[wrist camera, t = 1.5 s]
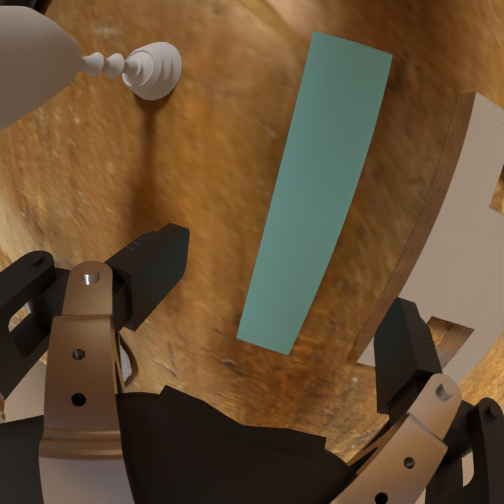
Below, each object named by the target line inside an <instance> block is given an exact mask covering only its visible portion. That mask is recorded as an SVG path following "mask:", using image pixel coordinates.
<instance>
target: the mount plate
mask: <svg viewBox="0 0 504 504" xmlns="http://www.w3.org/2000/svg"><path fill="white" fill-rule="evenodd" d="M503 164H504V110H503V109H502V108H500V107H499V106H497V105H496V104H494V103H493V102H491V101H490V100H488V99H487V98H485V97H484V96H482V95H481V94H479V93H478V92H469V93H460V94H458V95H457V99H456V103H455V108H454V112H453V116H452V120H451V124H450V127H449V131H448V134H447V138H446V141H445V145H444V148H443V151H442V154H441V158H440V161H439V164H438V167H437V170H436V173H435V175H434V178H433V181H432V184H431V187H430V189H429V192H428V195H427V197H426V200H425V202H424V205H423V207H422V210H421V212H420V215H419V217H418V220H417V222H416V224H415V227H414V229H413V231H412V234H411V236H410V238H409V240H408V243H407V245H406V247H405V249H404V251H403V253H402V255H401V258H400V260H399V262H398V264H397V266H396V268H395V270H394V272H393V274H392V276H391V278H390V280H389V282H388V284H387V285H386V287H385V289H384V291H383V293H382V295H381V297H380V298H379V300H378V302H377V304H376V306H375V307H374V309H373V311H372V313H371V315H370V316H369V318H368V320H367V321H366V323H365V325H364V326H363V328H362V330H361V331H360V333H359V335H358V336H357V338H356V362H357V363H361V364H365V365H369V366H373V367H375V357H374V345H373V341H374V336H375V332H376V330H377V328H378V326H379V325H380V323H381V321H382V320H383V318H384V316H385V315H386V313H387V311H388V309H389V308H390V306H391V304H392V302H393V301H394V300H395V299H396V298H397V297H400V298H403V299H406V300H409V301H412V302H415V303H416V305H417V308H418V311H419V314H420V317H421V318H422V319H423V320H424V321H425V323H427V322H428V320H429V319H430V317H431V316H434V317H437V318H440V319H443V320H446V321H450V322H453V323H454V324H453V326H452V327H451V328H450V330H449V331H448V333H447V334H446V335H445V337H444V338H443V339H442V341H441V342H440V343H439V345H438V346H437V347H435V349H436V351H437V354H438V358H439V361H440V365H441V369H442V372H443V374H445V375H447V376H449V377H450V378H452V379H453V380H454V381H455V382H456V384H459V383H460V382H461V381H462V380H463V379H464V378H465V376H466V375H467V374H468V373H469V372H470V371H471V370H472V369H473V368H474V366H475V365H476V364H477V363H478V362H479V361H480V359H481V358H482V357H483V356H484V355H485V353H486V352H487V351H488V350H489V348H490V347H491V346H492V345H493V343H494V342H495V341H496V339H497V338H498V337H499V335H500V334H501V333H502V331H503V330H504V213H502V212H500V211H499V210H497V209H495V208H494V207H492V206H490V202H491V199H492V197H493V194H494V191H495V189H496V186H497V183H498V180H499V177H500V174H501V171H502V168H503Z"/></svg>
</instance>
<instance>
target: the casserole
mask: <svg viewBox="0 0 504 504" xmlns="http://www.w3.org/2000/svg"><path fill="white" fill-rule="evenodd" d="M37 1H38V0H0V6H24V7H28V8H31V9H34V7H35V5H36V3H37Z"/></svg>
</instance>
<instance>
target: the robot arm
mask: <svg viewBox="0 0 504 504" xmlns="http://www.w3.org/2000/svg"><path fill="white" fill-rule="evenodd" d="M189 236H190V232H189V229H188V228H185V227H182V226H179V225H176V224H172V223H169V224H167V225H166V226H164V227H163V228H162V229H160V230H159V231H157V232H156V231H153V232H149V233H146V234H143V235H141V236H140V237H138V238H137V239H136V240H134V242H131V243H130V244H129V245H127V247H124V248H123V249H122V250H120V251H119V252H117V253H116V254H115V255H113V256H112V257H111V258H109V259H108V260H107V261H105V262H104V263H102V262H98V261H87V262H83V263H80V264H78V265H76V266H75V267H74V268H73V269H72V270H66V269H61V268H56V267H55V265H54V259H53V256H52V255H51V254H50V253H49V252H46V251H33V252H30V253H27V254H25V255H24V256H22V257H21V258H19V259H18V260H17V261H15V262H14V263H13V264H11V265H10V266H8V267H7V268H6V269H4V270H3V271H2V272H0V504H415V502H416V501H417V500H418V498H419V497H420V495H421V494H422V492H423V491H424V489H425V488H426V495H425V504H504V415H503V412H502V410H501V408H500V406H499V405H498V404H497V402H495V401H494V400H493V399H491V398H488V397H485V398H483V399H481V400H480V401H479V402H478V403H477V404H476V405H475V406H473V405H471V404H469V403H467V402H465V401H463V400H462V395H461V391H460V389H459V387H458V385H457V384H456V382H455V381H454V380H453V379H452V378H450V377H449V376H447V375H445V374H443V372H442V369H441V365H440V361H439V358H438V354H437V351H436V349H435V344H434V341H433V340H432V339H433V338H432V335H431V332H430V329H429V327H428V326H427V324H426V323H425V321H424V320H423V319H422V318H421V317H420V314H419V311H418V308H417V305H416V303H415V302H412V301H409V300H406V299H403V298H400V297H397V298H396V299H395V300H394V301H393V302H392V304H391V306H390V308H389V309H388V311H387V313H386V315H385V316H384V318H383V320H382V321H381V323H380V325H379V326H378V328H377V330H376V332H375V336H374V341H373V345H374V357H375V371H376V391H377V413H381V414H387V415H389V420H388V421H387V422H386V423H385V424H384V425H383V426H382V427H381V428H380V429H379V430H378V432H377V433H376V434H375V435H374V436H373V437H372V438H371V439H370V440H369V441H368V443H367V444H366V445H365V446H364V447H363V448H362V449H361V450H360V451H359V452H358V453H357V454H356V455H355V456H354V457H353V458H352V459H351V460H349V461H348V462H347V463H345V462H344V461H343V460H342V459H340V458H339V457H338V456H336V455H335V454H333V453H331V452H330V451H328V450H326V449H325V443H326V437H322V436H317V435H312V434H308V433H304V432H300V431H296V430H292V429H288V428H268V427H255V426H245V425H242V424H239V423H237V422H236V421H234V420H233V419H231V418H229V417H228V416H226V415H224V414H223V413H221V412H220V411H218V410H217V409H215V408H214V407H212V406H211V405H209V404H208V403H206V402H205V401H202V400H200V399H197V398H195V397H193V396H190V395H188V394H185V393H183V392H181V391H178V390H176V389H174V388H172V387H169V386H167V385H165V387H164V388H163V390H162V392H161V393H160V394H155V393H147V392H130V393H126V391H125V385H124V379H123V371H122V361H121V350H120V337H119V331H120V330H121V329H122V328H123V327H126V328H128V329H130V330H132V331H134V332H135V331H136V330H137V328H138V327H139V326H140V325H141V324H142V323H143V321H144V320H145V319H146V318H147V317H148V316H149V314H150V313H151V312H152V311H153V310H154V309H155V308H156V306H157V305H158V304H159V303H160V302H161V301H162V300H163V298H164V297H165V296H166V295H167V294H168V293H169V292H170V290H171V289H172V288H173V287H174V286H175V285H176V284H177V283H178V281H179V280H180V279H181V278H182V276H183V274H184V271H185V268H186V262H187V253H188V244H189ZM26 303H28V306H29V309H30V312H31V313H30V314H29V315H27V316H26V317H25V318H24V319H23V320H22V321H21V322H20V323H19V324H18V325H17V326H16V327H15V328H14V329H13V330H12V331H11V332H9V328H8V325H9V321H10V319H11V317H12V316H13V315H14V314H15V313H16V312H17V311H18V310H19V309H21V308H22V307H23V306H24V305H25V304H26ZM47 349H48V356H47V366H46V378H45V393H44V415H40V416H36V417H31V418H26V419H21V420H16V421H11V422H6V423H4V422H5V414H4V412H3V411H4V401H5V400H6V399H7V397H8V396H9V395H10V393H11V392H12V391H13V390H14V388H15V387H16V386H17V385H18V383H19V382H20V381H21V380H22V378H23V377H24V376H25V375H26V374H27V373H28V371H29V370H30V369H31V368H32V367H33V366H34V364H35V363H36V362H37V361H38V360H39V359H40V357H41V356H42V355H43V354H44V353H45V352H46V351H47ZM472 451H473V462H474V475H473V478H472V480H471V481H470V482H469V484H467V485H466V486H464V487H463V471H462V458H463V457H465V456H466V455H467V454H469V453H470V452H472Z"/></svg>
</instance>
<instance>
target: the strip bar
mask: <svg viewBox="0 0 504 504" xmlns="http://www.w3.org/2000/svg"><path fill="white" fill-rule="evenodd" d="M392 57H393V55H391V54H389V53H386V52H383V51H381V50H378V49H375V48H372V47H369V46H366V45H363V44H360V43H357V42H353V41H350V40H347V39H343V38H339V37H336V36H332V35H328V34H324V33H319V32H315V31H313V36H312V40H311V44H310V48H309V52H308V56H307V60H306V64H305V69H304V73H303V77H302V81H301V85H300V89H299V93H298V97H297V101H296V105H295V109H294V113H293V117H292V121H291V125H290V129H289V133H288V137H287V141H286V145H285V149H284V153H283V157H282V161H281V165H280V169H279V173H278V177H277V181H276V185H275V189H274V193H273V197H272V201H271V205H270V209H269V213H268V217H267V221H266V224H265V228H264V232H263V236H262V240H261V244H260V248H259V252H258V256H257V260H256V263H255V267H254V271H253V275H252V279H251V283H250V287H249V291H248V294H247V298H246V302H245V306H244V310H243V314H242V317H241V321H240V325H239V329H238V333H237V337H236V338H237V339H240V340H243V341H246V342H249V343H252V344H254V345H257V346H260V347H263V348H266V349H270V350H273V351H276V352H279V353H282V354H285V355H289V353H290V351H291V349H292V346H293V344H294V342H295V340H296V338H297V336H298V334H299V331H300V329H301V327H302V325H303V322H304V320H305V318H306V316H307V313H308V311H309V309H310V307H311V304H312V302H313V300H314V297H315V295H316V293H317V290H318V288H319V285H320V283H321V281H322V278H323V276H324V273H325V271H326V268H327V266H328V263H329V261H330V258H331V256H332V253H333V251H334V248H335V245H336V243H337V240H338V237H339V235H340V232H341V229H342V227H343V224H344V221H345V218H346V216H347V213H348V210H349V207H350V204H351V201H352V199H353V196H354V193H355V190H356V187H357V184H358V181H359V178H360V175H361V172H362V168H363V165H364V162H365V159H366V156H367V152H368V149H369V146H370V142H371V139H372V136H373V132H374V129H375V125H376V122H377V118H378V114H379V111H380V107H381V103H382V99H383V95H384V91H385V87H386V83H387V79H388V75H389V70H390V66H391V62H392Z"/></svg>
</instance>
